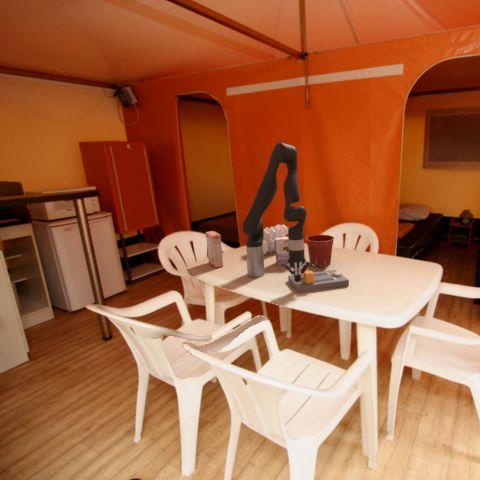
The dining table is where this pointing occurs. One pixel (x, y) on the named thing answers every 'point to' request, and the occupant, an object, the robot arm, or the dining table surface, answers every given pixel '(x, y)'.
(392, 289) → the dining table surface
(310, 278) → the orange slider
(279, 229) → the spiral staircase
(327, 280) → the panel
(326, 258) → the flower pot
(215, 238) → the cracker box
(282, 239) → the candy box
